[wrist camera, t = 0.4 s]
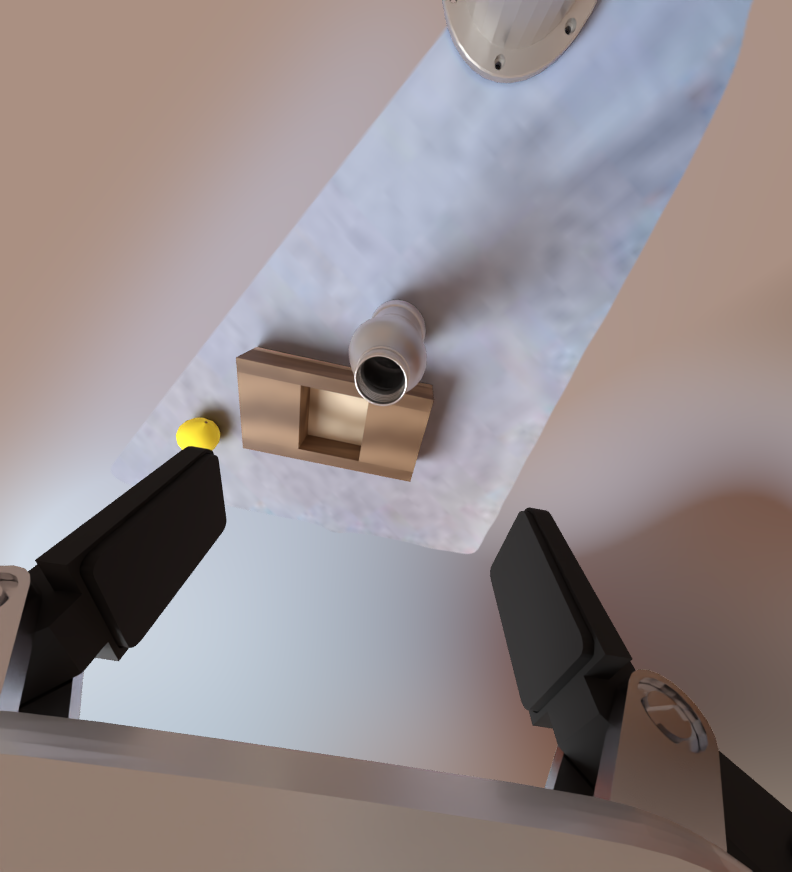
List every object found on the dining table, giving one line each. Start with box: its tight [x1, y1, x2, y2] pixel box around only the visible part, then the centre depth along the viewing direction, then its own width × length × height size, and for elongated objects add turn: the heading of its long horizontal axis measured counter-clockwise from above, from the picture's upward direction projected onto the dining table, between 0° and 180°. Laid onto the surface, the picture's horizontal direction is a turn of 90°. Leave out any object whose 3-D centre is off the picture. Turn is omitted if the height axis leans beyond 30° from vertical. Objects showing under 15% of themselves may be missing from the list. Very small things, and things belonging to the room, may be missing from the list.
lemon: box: [176, 418, 220, 450], centre depth 44 cm, size 7×5×5 cm
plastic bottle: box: [349, 300, 427, 406], centre depth 28 cm, size 6×7×20 cm
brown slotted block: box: [236, 347, 434, 482], centre depth 41 cm, size 13×24×5 cm, turn 79°
